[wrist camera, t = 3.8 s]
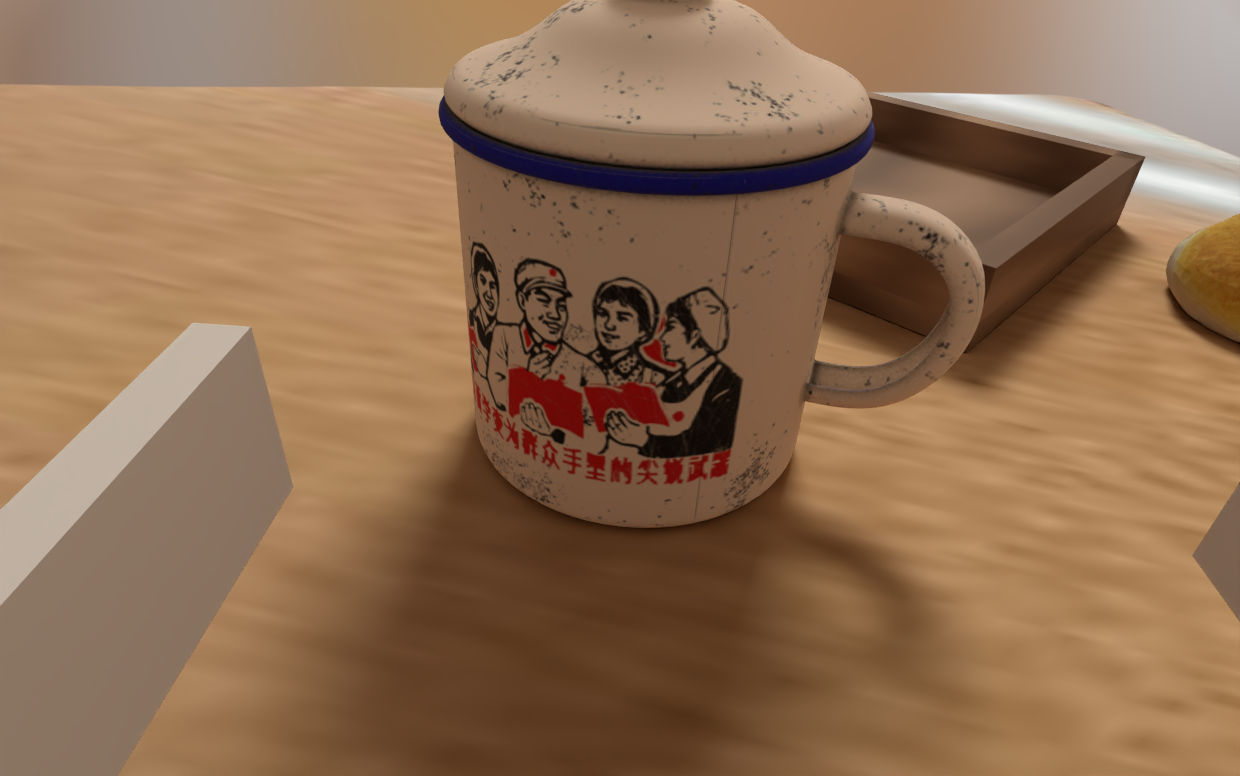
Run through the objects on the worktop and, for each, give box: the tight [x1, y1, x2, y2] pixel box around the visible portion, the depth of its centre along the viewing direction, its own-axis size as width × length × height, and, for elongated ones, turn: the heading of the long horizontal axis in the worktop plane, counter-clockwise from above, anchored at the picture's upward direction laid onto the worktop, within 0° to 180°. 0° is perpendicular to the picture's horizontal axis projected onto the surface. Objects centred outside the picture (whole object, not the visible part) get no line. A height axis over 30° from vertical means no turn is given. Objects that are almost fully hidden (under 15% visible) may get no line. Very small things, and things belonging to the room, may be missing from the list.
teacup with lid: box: [439, 0, 985, 528], centre depth 18 cm, size 12×9×12 cm
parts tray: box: [828, 92, 1145, 353], centre depth 35 cm, size 21×16×3 cm
